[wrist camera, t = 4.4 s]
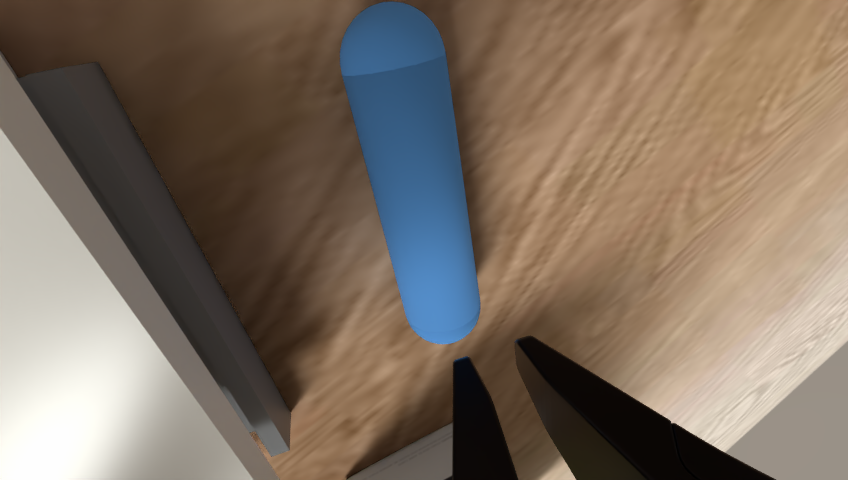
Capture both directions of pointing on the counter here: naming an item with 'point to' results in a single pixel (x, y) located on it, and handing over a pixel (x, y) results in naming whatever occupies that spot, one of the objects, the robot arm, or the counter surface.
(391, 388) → the counter surface
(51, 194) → the duct lid
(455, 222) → the blue pill shape
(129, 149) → the duct
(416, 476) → the tea box
